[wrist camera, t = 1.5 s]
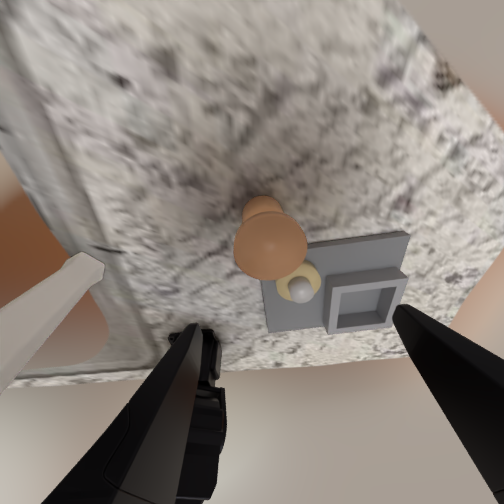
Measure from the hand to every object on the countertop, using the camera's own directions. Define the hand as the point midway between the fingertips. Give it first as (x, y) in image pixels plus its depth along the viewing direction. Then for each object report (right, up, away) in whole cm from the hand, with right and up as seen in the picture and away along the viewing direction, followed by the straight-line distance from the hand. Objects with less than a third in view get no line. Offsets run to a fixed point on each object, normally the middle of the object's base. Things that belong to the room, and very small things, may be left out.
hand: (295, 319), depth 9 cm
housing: (+7, -1, +16) cm, 18 cm away
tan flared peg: (-1, +7, +11) cm, 13 cm away
